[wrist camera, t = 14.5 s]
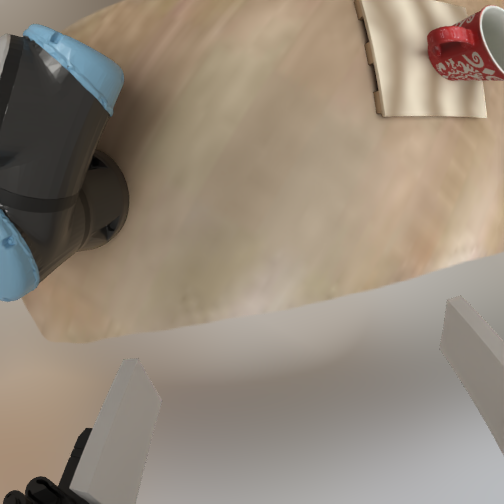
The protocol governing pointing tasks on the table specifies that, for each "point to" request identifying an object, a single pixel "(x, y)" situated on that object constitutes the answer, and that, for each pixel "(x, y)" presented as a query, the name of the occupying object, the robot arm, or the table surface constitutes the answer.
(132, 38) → the table surface
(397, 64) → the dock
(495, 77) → the mug
